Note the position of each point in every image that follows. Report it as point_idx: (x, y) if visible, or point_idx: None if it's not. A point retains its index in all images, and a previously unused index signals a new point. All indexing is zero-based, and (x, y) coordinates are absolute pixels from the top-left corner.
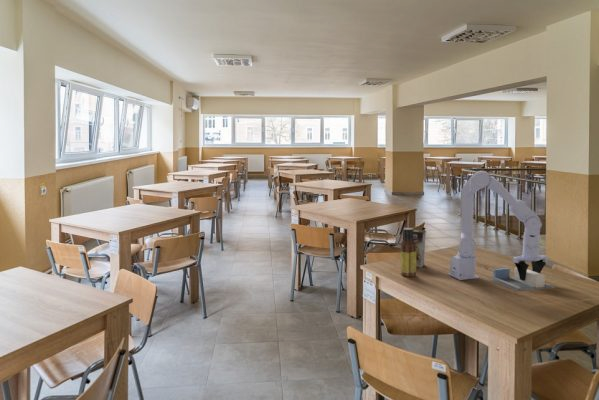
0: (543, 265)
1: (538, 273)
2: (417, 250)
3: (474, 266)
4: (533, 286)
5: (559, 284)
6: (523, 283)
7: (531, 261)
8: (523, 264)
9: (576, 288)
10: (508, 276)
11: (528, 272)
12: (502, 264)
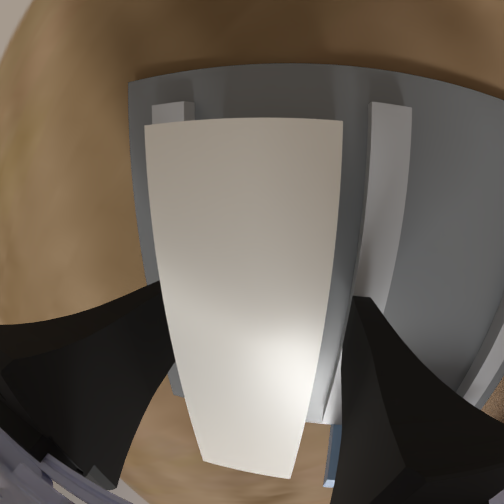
0: (14, 332)
1: (175, 258)
2: None
3: (501, 493)
4: (407, 108)
5: (57, 186)
6: (391, 266)
7: (115, 478)
8: (496, 484)
9: (29, 89)
10: (341, 425)
11: (299, 359)
12: (174, 481)
